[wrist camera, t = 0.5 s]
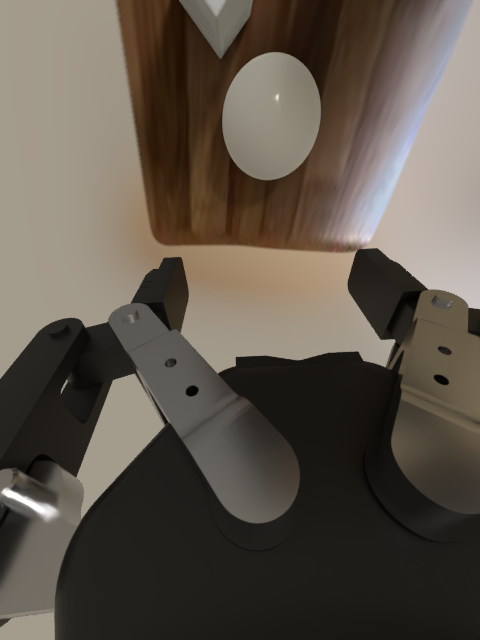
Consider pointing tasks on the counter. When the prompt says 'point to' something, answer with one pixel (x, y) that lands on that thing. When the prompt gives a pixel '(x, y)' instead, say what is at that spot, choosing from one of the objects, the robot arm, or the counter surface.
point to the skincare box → (219, 20)
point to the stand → (271, 116)
